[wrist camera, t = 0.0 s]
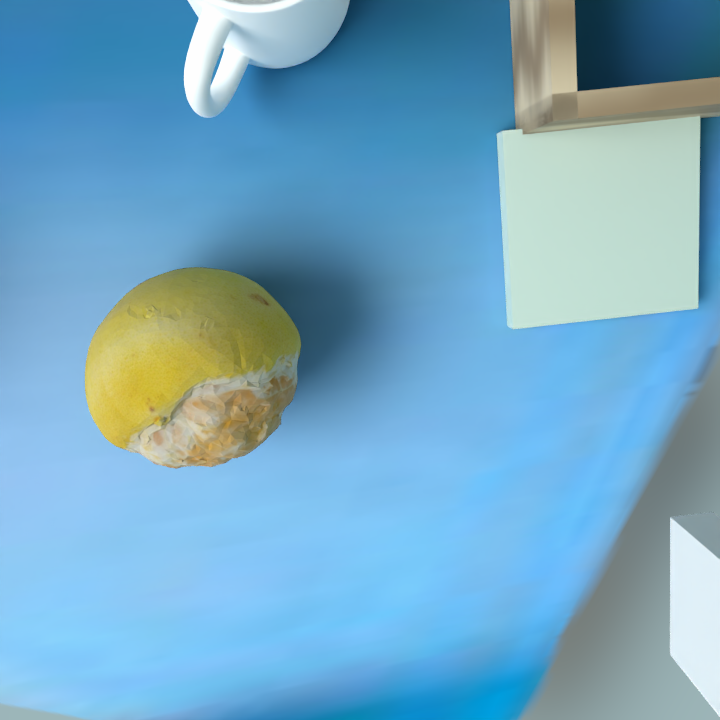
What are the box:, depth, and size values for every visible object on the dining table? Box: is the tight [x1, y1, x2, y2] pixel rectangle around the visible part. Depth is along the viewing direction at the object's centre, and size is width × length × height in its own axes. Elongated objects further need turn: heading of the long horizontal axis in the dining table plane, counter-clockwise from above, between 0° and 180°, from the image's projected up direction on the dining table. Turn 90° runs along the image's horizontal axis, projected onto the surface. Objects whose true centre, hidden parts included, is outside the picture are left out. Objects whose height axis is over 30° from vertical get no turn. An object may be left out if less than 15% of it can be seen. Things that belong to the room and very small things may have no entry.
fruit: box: [85, 267, 301, 468], centre depth 33 cm, size 10×11×10 cm
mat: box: [497, 116, 700, 329], centre depth 37 cm, size 11×11×1 cm
